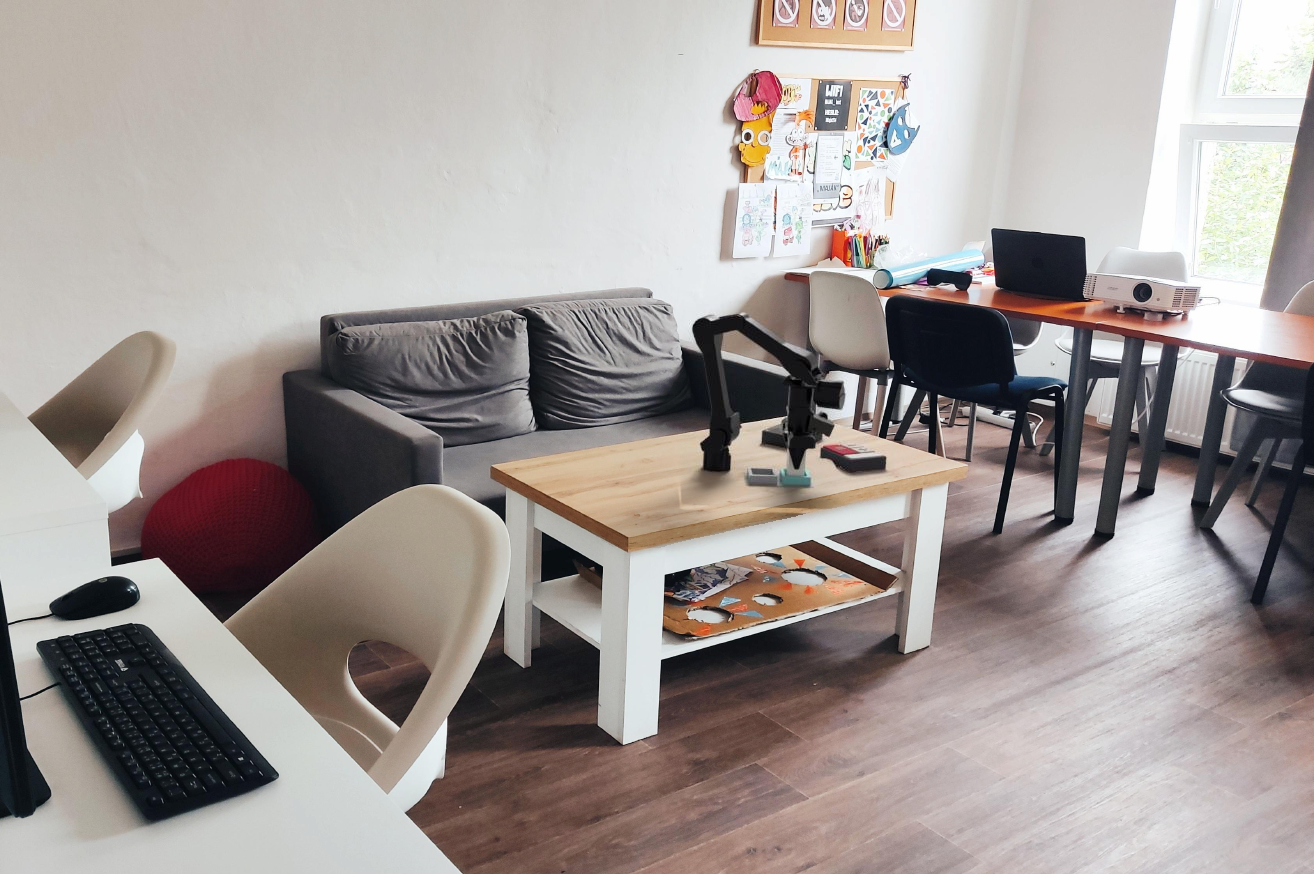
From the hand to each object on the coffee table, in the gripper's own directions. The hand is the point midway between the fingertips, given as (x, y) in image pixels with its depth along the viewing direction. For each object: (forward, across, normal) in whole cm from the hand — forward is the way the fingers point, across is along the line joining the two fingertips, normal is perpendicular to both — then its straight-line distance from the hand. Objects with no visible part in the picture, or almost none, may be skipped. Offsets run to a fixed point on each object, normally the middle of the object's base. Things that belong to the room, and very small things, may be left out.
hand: (795, 466), depth 265 cm
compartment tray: (+4, 0, +4) cm, 6 cm away
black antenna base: (+5, +42, -5) cm, 42 cm away
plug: (+2, 0, 0) cm, 2 cm away
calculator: (+5, +20, -18) cm, 27 cm away
